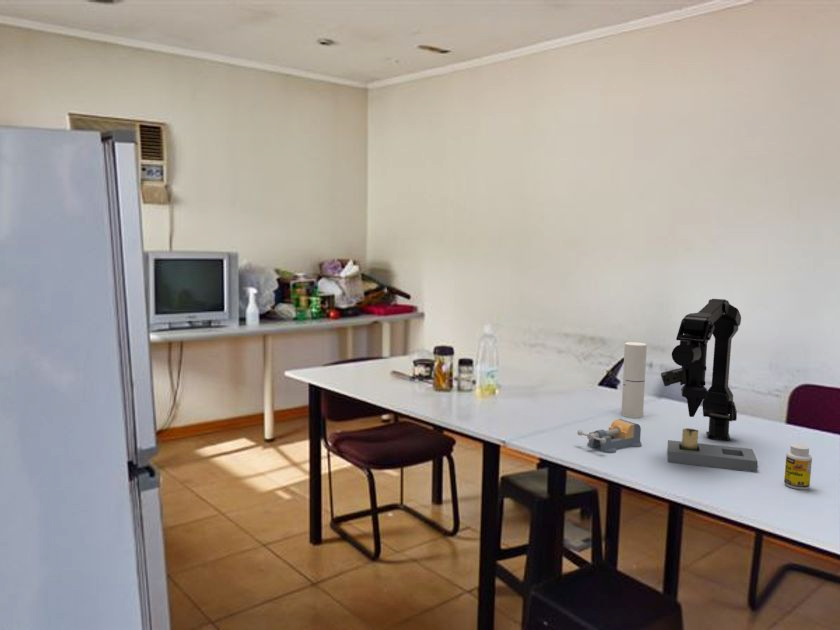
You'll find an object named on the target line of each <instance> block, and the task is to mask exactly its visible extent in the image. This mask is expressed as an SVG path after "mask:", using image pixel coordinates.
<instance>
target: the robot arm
mask: <svg viewBox="0 0 840 630" xmlns="http://www.w3.org/2000/svg"><path fill="white" fill-rule="evenodd" d="M741 322H742V316H741V312H740V311H739V309H738V308H737V307H735V306H734V305H733V304H730V302H729V300H726V299H724V298H723V299H721V298H712V299H709V300H708V302H707V304H706V305H705V306H703V308H701V309H700V310H698V312H693V313H688V314H686V315H685V316H684V317H683V318H682V319H681V321H680V325H679V328H678V332H677V334H676V335H677V336H676V338H675V339H676V341H679V344H678V345H676V346H675V347H674V348H673V349H672V352H671V357H672V360H673V362H674V364H676V365H677V366H681V368H680V367H679V368H674V369H670V370H666V371H662V372H661V373H660V377H661V380H662V383H663V386H664V387H669V386H671V385H673V384H680V386H682V387H681V389H680V391H681V397H683V398H686V402H687V403H686V404H687V409H688V411H687V412H688V416H689V417H690V418H694V417H695V415H696V414H697V411H698V410H699V408H700V406H701V404H702V416H703V418H704V417H705V418H708V431H705V432H706V437H707V439H709V440H710V439H711V440H718V441H719V440H721V441H729V442H730V441H731V440H732V439H731V435H730V433H729V432H730V422H735V421H737V419H738V417H737V416H738V415H737V413H738V412H737V408H736V403H735V401H734V394H733V392H732V391H731V388H730V387H729V380H730V378H729V377H730V365H731V351H732V339H733V338H734V336H735V335H736V334H737V332H738V331H739V327H740V326H741V324H742V323H741ZM712 336H713V338H714V347H713V349H714V350H713V358H712V359H713V362H712V375H711V386H710V387H709V389H708V388H707V387H705V386H706V371H707V353H708V352H707V351H708V350H707V349H708V342H709V341H711V339H712Z"/></svg>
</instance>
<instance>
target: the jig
mask: <svg viewBox="0 0 840 630" xmlns="http://www.w3.org/2000/svg"><path fill="white" fill-rule="evenodd" d="M666 450H667V451H666V452H667V462H668V463H674V464H683V465H691V466H692V465H693V466H701V467H709V468H715V469H716V468H718V469H724V470H725V469H727V470H734V471H735V470H736V471H741V472H742V471H745V472H753V473H757V472H758V463H759V462H758V459H757V457H756V454H755V453H754V450H753V449H752V448H749V447H748V448H747V447H738V446H737V447H736V446H728V445H720V444H719V445H718V444H709V443H701V442H700V443H699V442H698V444H697V451H689V450H682V440H679V441H678V440H673V439H672V440H670V439H668V440H667V449H666Z"/></svg>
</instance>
